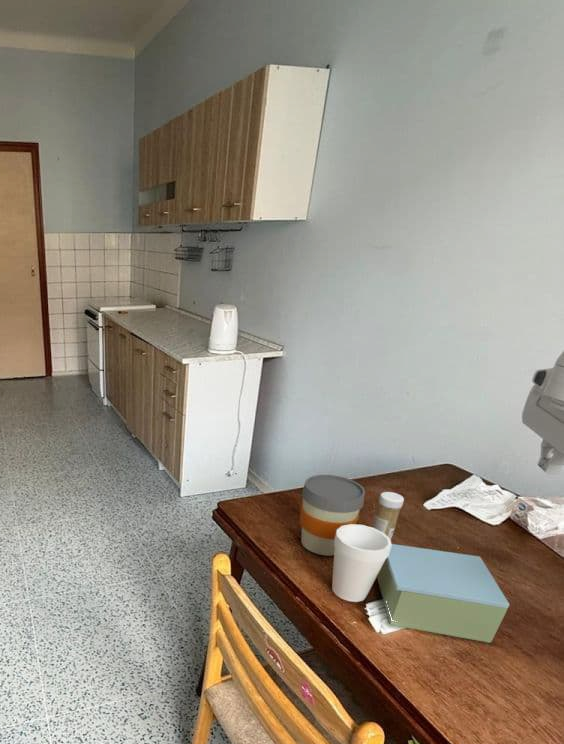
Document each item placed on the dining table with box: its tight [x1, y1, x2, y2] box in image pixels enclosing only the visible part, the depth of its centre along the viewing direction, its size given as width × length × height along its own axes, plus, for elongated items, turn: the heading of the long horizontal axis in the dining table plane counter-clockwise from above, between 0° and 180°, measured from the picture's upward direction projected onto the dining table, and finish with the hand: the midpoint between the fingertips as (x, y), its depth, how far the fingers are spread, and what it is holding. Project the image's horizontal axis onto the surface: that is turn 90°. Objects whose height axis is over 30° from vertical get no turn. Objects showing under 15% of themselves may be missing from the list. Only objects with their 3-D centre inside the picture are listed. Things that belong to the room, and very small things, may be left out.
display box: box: [376, 559, 509, 644], centre depth 88 cm, size 16×14×8 cm
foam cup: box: [331, 523, 393, 603], centre depth 92 cm, size 10×9×13 cm
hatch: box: [386, 543, 510, 608], centre depth 86 cm, size 17×14×1 cm
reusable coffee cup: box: [299, 474, 366, 557], centre depth 106 cm, size 13×13×15 cm
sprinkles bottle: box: [371, 491, 405, 540], centre depth 104 cm, size 5×5×14 cm
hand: (547, 470), depth 76 cm, fingers closed
